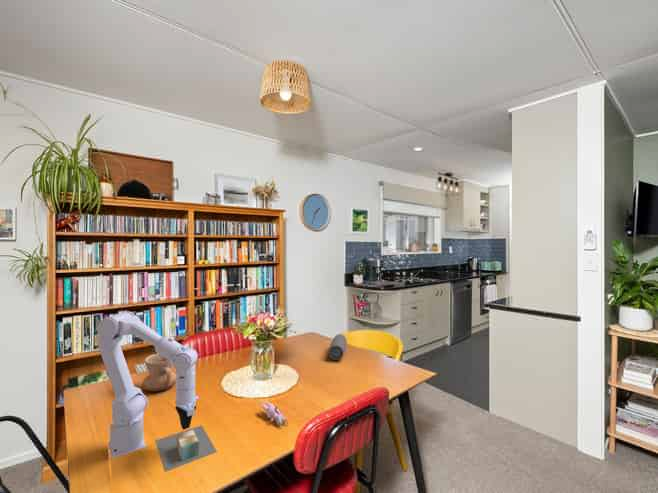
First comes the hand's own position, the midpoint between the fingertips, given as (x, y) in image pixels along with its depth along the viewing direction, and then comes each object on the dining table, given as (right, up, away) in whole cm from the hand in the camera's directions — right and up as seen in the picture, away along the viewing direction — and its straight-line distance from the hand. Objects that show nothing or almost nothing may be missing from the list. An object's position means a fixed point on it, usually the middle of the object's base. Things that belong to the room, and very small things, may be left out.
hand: (185, 427), depth 103 cm
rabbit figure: (+26, -7, +17) cm, 32 cm away
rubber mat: (0, -6, 0) cm, 6 cm away
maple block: (-1, -4, +1) cm, 4 cm away
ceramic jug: (-31, -6, +42) cm, 52 cm away
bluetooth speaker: (+53, -6, +87) cm, 102 cm away
